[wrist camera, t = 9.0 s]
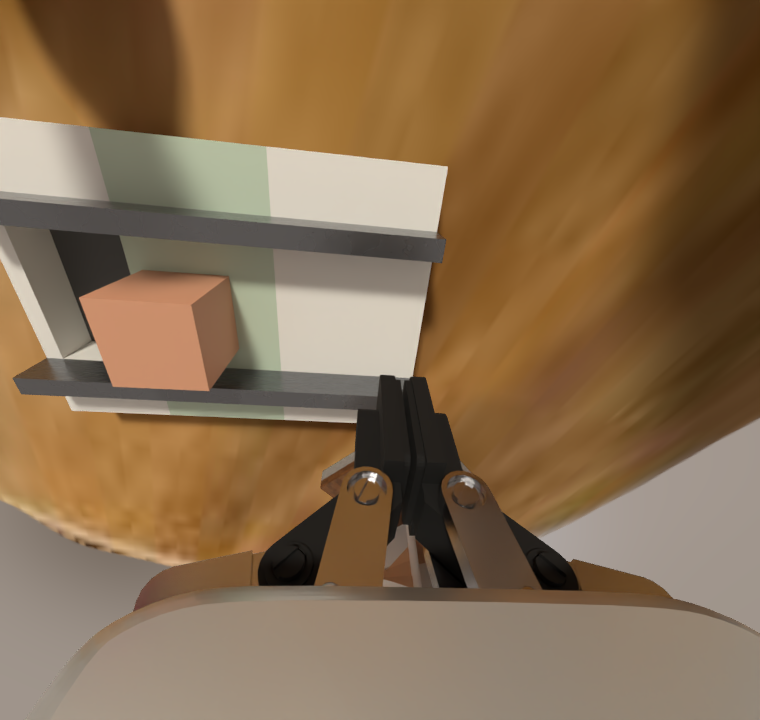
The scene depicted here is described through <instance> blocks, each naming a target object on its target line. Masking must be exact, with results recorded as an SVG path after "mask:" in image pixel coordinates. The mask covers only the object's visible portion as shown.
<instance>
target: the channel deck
mask: <svg viewBox="0 0 760 720" xmlns="http://www.w3.org/2000/svg"><path fill="white" fill-rule="evenodd" d="M447 169H448V167H446V166H437V165H428V164H419V163H410V162H401V161H392V160H383V159H374V158H365V157H356V156H347V155H338V154H329V153H320V152H310V151H301V150H292V149H283V148H274V147H265V146H256V145H247V144H238V143H229V142H220V141H211V140H202V139H193V138H184V137H175V136H166V135H157V134H148V133H139V132H129V131H120V130H111V129H102V128H93V127H84V126H75V125H66V124H57V123H48V122H39V121H30V120H21V119H12V118H3V117H0V191H4V192H14V193H25V194H36V195H47V196H57V197H68V198H79V199H89V200H100V201H111V202H121V203H132V204H143V205H154V206H164V207H175V208H186V209H196V210H207V211H218V212H228V213H239V214H250V215H260V216H271V217H282V218H293V219H303V220H314V221H325V222H335V223H346V224H357V225H367V226H378V227H389V228H399V229H410V230H421V231H432V232H437V229H438V223H439V217H440V211H441V205H442V199H443V193H444V187H445V181H446V175H447ZM0 259H1V261H2V263H3V265H4V267H5V269H6V272H7V274H8V276H9V278H10V280H11V282H12V284H13V286H14V289H15V291H16V293H17V295H18V297H19V299H20V301H21V303H22V306H23V308H24V310H25V312H26V314H27V316H28V318H29V320H30V323H31V325H32V327H33V329H34V331H35V333H36V335H37V338H38V340H39V342H40V344H41V346H42V348H43V350H44V352H45V355H46V357H47V358H57V359H75V360H93V361H103V359H102V357H101V354H100V352H99V349H98V346H97V344H96V341H95V339H94V336H93V333H92V331H91V328H90V326H89V323H88V320H87V318H86V315H85V313H84V310H83V307H82V305H81V302H80V300H79V297H81V296H84V295H86V294H88V293H90V292H93V291H95V290H97V289H100V288H102V287H104V286H107V285H109V284H111V283H113V282H116V281H118V280H120V279H123V278H125V277H127V276H129V275H132V274H134V273H136V272H139V271H141V270H151V271H165V272H179V273H193V274H207V275H221V276H229V280H230V287H231V294H232V301H233V308H234V315H235V322H236V329H237V336H238V343H239V350H238V351H237V353H236V354H235V356H234V357H233V358H232V360H231V361H230V363H229V364H228V365H227V367H226V368H237V369H255V370H272V371H290V372H308V373H326V374H344V375H362V376H380V375H394V376H395V377H398V378H410V377H413V371H414V365H415V359H416V353H417V348H418V342H419V336H420V330H421V324H422V318H423V312H424V306H425V300H426V294H427V288H428V282H429V276H430V270H431V264H432V262H424V261H413V260H401V259H389V258H378V257H366V256H354V255H343V254H331V253H319V252H308V251H296V250H284V249H273V248H261V247H249V246H238V245H226V244H214V243H203V242H191V241H179V240H168V239H156V238H144V237H133V236H121V235H109V234H98V233H86V232H74V231H63V230H51V229H39V228H28V227H16V226H4V225H0ZM65 397H66V399H67V401H68V403H69V406H70V408H71V410H72V411H94V412H116V413H139V414H162V415H185V416H208V417H230V418H253V419H276V420H299V421H322V422H345V423H357V412H358V410H348V409H326V408H305V407H284V406H263V405H241V404H220V403H199V402H178V401H157V400H135V399H114V398H93V397H72V396H65Z"/></svg>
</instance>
